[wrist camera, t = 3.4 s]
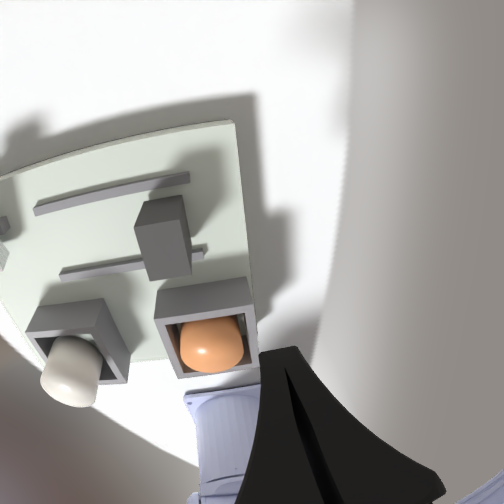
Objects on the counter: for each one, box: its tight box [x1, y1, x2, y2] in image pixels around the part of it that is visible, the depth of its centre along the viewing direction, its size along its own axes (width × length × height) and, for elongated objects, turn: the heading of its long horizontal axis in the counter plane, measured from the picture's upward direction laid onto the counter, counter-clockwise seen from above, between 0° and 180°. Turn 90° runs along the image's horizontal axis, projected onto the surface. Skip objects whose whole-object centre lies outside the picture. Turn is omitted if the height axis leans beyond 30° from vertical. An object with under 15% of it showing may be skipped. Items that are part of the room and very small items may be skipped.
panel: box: [0, 119, 260, 385], centre depth 17 cm, size 15×18×5 cm
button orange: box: [180, 314, 244, 373], centre depth 18 cm, size 4×4×3 cm
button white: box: [40, 335, 103, 407], centre depth 16 cm, size 4×4×3 cm
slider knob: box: [133, 195, 192, 282], centre depth 15 cm, size 3×2×3 cm
